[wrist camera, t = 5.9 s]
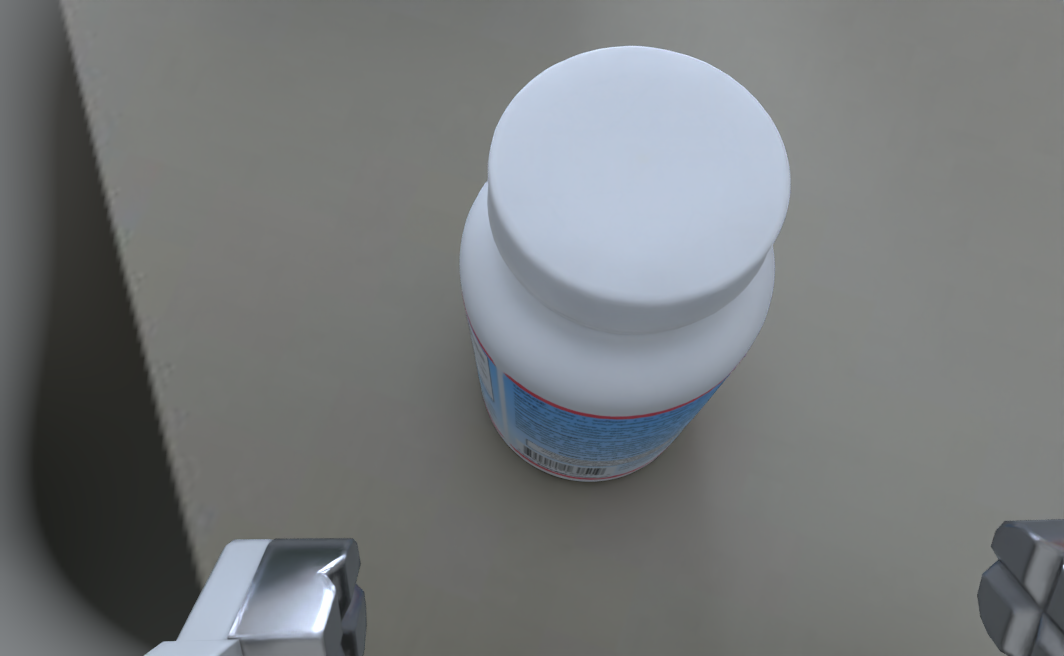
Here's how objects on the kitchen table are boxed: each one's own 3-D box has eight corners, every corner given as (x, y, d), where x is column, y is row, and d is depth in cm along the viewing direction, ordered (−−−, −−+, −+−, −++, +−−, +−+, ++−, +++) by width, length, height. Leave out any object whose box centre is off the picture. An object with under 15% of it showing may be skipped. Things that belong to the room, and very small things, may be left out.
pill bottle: (731, 375, 22) (924, 158, 11) (592, 531, 20) (668, 445, 10) (578, 247, 23) (624, -52, 13) (437, 382, 22) (357, 168, 11)
